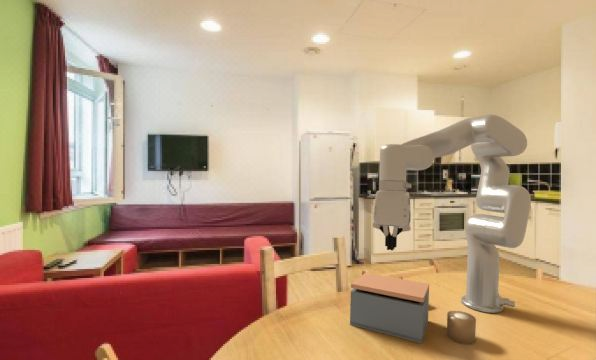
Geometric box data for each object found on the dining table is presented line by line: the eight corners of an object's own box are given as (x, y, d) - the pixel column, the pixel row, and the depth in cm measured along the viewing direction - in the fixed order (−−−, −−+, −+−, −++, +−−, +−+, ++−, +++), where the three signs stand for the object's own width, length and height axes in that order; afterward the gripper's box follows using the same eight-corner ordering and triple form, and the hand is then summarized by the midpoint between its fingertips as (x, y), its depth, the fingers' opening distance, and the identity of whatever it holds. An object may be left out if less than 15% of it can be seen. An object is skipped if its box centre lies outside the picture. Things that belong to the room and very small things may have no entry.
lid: (429, 287, 95) (429, 283, 95) (423, 302, 82) (423, 298, 82) (365, 276, 105) (365, 272, 105) (350, 287, 91) (351, 283, 92)
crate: (428, 320, 95) (429, 288, 95) (421, 343, 82) (423, 306, 82) (364, 306, 105) (365, 276, 105) (349, 324, 92) (350, 291, 91)
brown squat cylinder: (474, 335, 87) (475, 314, 87) (475, 347, 81) (476, 324, 81) (447, 328, 90) (448, 308, 90) (446, 340, 84) (446, 318, 84)
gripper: (421, 187, 90) (419, 250, 91) (370, 185, 97) (368, 243, 98) (417, 188, 84) (416, 255, 84) (363, 186, 90) (362, 248, 91)
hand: (390, 249), depth 91 cm, fingers closed
